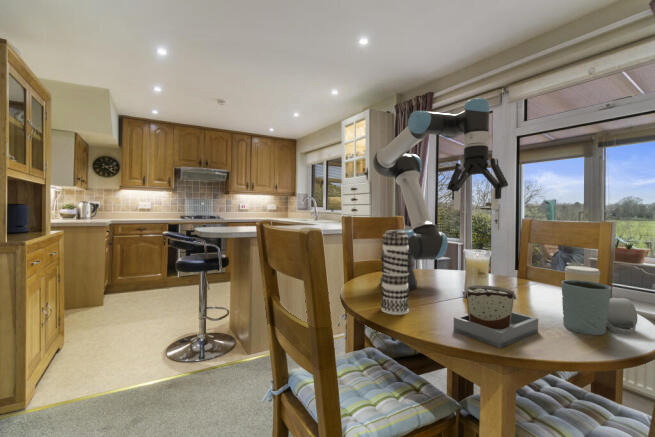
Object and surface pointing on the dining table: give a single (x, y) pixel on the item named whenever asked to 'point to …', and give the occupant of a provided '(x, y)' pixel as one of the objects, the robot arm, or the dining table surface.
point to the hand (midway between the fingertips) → (474, 209)
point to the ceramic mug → (621, 315)
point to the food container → (490, 305)
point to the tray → (498, 338)
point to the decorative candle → (395, 272)
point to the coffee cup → (582, 273)
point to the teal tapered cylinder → (585, 306)
